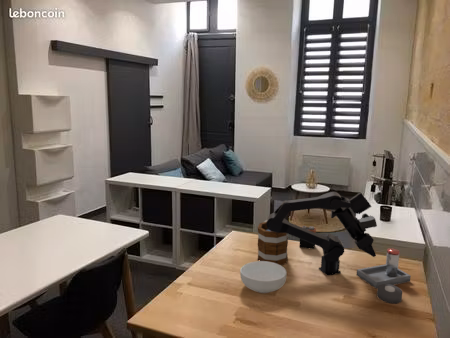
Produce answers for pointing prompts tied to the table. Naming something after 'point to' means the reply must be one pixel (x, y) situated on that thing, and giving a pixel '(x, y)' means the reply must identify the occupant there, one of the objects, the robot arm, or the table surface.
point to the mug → (272, 245)
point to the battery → (304, 243)
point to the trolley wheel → (389, 293)
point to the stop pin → (392, 262)
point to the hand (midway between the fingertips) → (371, 251)
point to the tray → (381, 276)
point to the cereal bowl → (263, 276)
